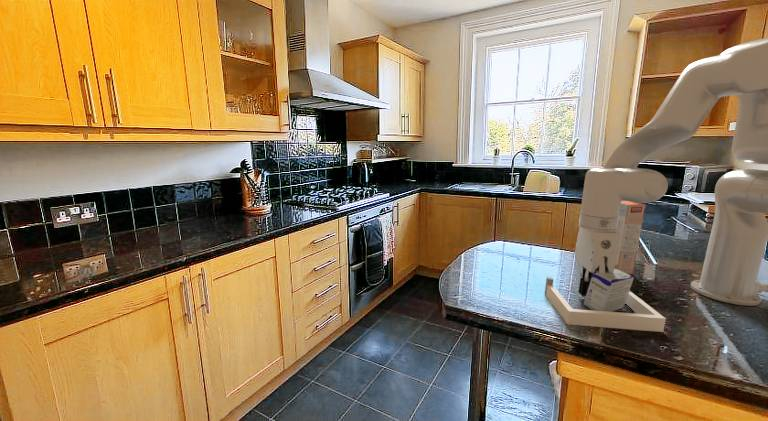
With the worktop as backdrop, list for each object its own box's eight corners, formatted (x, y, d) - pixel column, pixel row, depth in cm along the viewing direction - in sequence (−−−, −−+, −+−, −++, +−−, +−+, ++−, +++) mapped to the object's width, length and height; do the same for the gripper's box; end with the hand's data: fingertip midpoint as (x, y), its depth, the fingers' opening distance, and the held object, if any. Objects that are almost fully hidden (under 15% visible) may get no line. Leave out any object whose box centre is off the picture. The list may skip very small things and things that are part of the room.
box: (604, 298, 81) (614, 267, 78) (622, 309, 77) (634, 276, 74) (582, 304, 77) (592, 272, 74) (600, 316, 74) (612, 282, 71)
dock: (623, 298, 82) (626, 282, 81) (663, 332, 68) (667, 312, 67) (544, 293, 84) (546, 277, 83) (566, 324, 70) (569, 305, 69)
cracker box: (634, 275, 96) (647, 204, 92) (615, 275, 96) (627, 204, 91) (598, 258, 110) (608, 195, 105) (581, 258, 109) (590, 195, 105)
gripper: (634, 231, 70) (620, 311, 73) (598, 215, 84) (588, 283, 88) (596, 229, 70) (584, 309, 74) (567, 214, 85) (558, 281, 89)
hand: (586, 294), depth 81 cm, fingers closed
